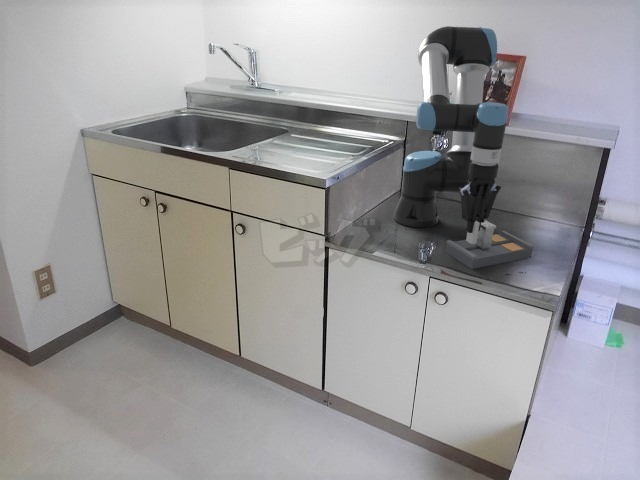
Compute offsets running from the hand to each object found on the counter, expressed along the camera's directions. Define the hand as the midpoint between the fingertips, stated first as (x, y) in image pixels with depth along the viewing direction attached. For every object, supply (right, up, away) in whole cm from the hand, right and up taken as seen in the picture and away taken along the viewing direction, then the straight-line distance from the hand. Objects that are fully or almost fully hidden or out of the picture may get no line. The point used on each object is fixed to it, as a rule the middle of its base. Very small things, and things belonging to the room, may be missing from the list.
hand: (471, 242), depth 148 cm
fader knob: (+4, -1, +2) cm, 5 cm away
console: (+6, -4, +5) cm, 9 cm away
